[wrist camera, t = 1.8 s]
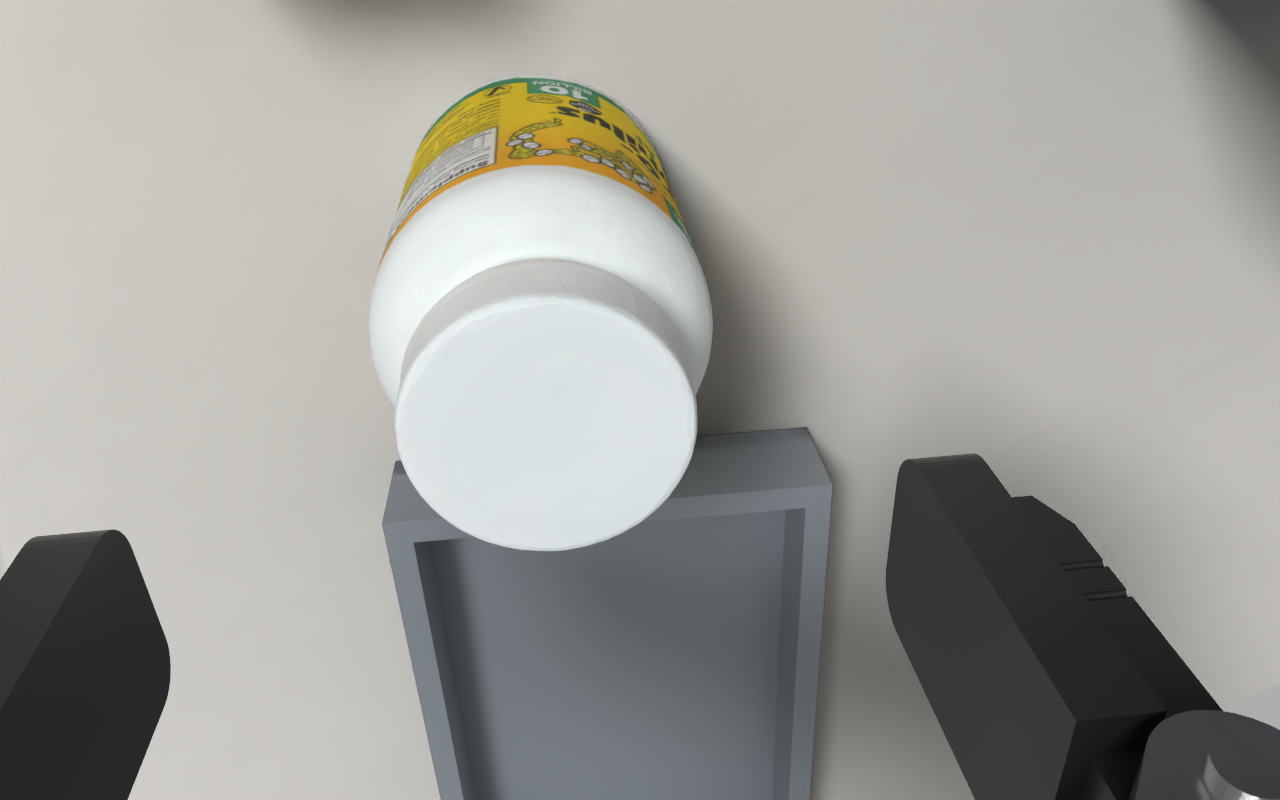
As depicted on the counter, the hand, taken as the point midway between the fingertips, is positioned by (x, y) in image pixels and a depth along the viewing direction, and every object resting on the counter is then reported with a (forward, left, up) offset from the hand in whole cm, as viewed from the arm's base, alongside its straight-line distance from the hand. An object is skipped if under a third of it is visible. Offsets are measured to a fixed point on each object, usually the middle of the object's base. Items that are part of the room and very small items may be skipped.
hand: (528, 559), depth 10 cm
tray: (-1, +14, -12) cm, 19 cm away
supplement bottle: (0, 0, -13) cm, 13 cm away
